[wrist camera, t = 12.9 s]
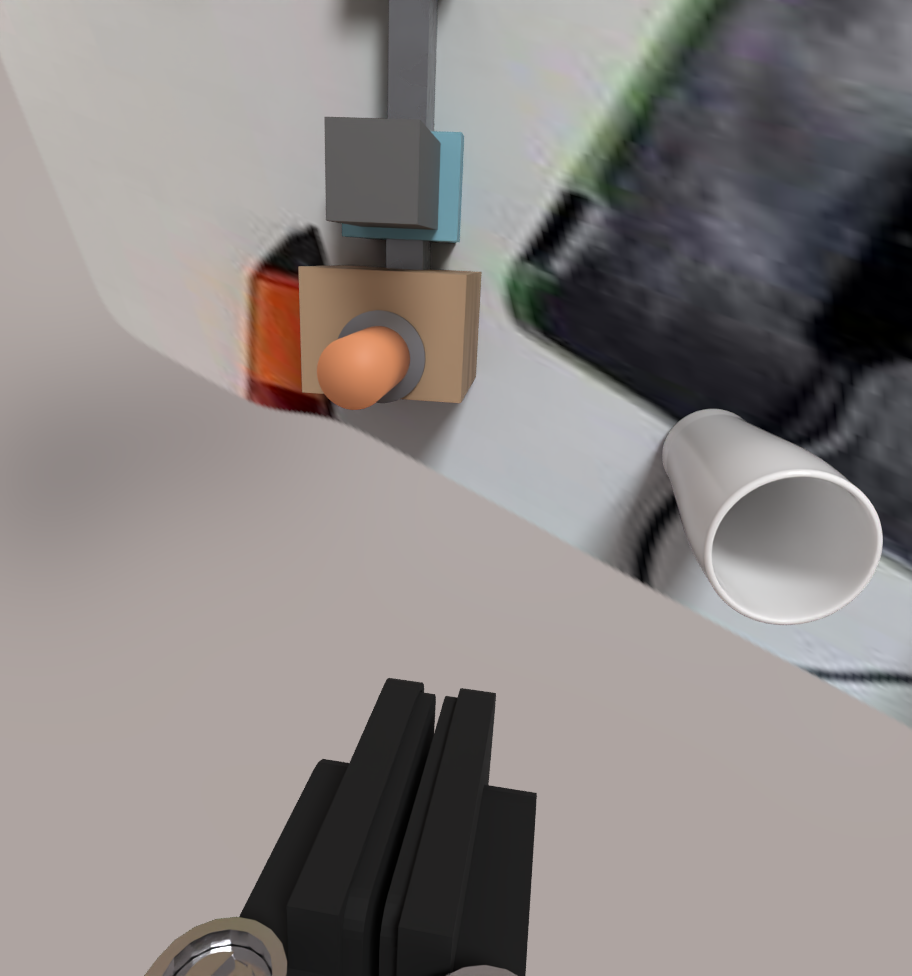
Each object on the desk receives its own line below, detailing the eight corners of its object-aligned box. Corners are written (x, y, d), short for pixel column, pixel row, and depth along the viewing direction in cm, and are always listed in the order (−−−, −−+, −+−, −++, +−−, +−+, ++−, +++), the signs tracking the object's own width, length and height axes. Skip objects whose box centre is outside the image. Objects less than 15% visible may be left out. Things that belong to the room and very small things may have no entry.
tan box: (481, 271, 39) (466, 274, 31) (475, 380, 41) (459, 408, 33) (338, 264, 40) (288, 266, 32) (339, 371, 42) (292, 396, 34)
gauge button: (410, 327, 32) (388, 339, 28) (409, 390, 33) (387, 412, 29) (348, 324, 33) (316, 335, 28) (349, 386, 34) (317, 407, 29)
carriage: (469, 145, 37) (444, 106, 28) (465, 243, 39) (440, 237, 29) (361, 141, 38) (300, 102, 28) (361, 238, 39) (304, 231, 30)
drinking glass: (687, 374, 40) (767, 437, 25) (790, 426, 40) (926, 518, 26) (626, 473, 42) (669, 582, 28) (724, 522, 42) (816, 655, 28)
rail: (469, -71, 34) (460, -112, 30) (455, 270, 39) (446, 271, 36) (371, -71, 35) (350, -111, 31) (370, 266, 40) (351, 267, 36)
